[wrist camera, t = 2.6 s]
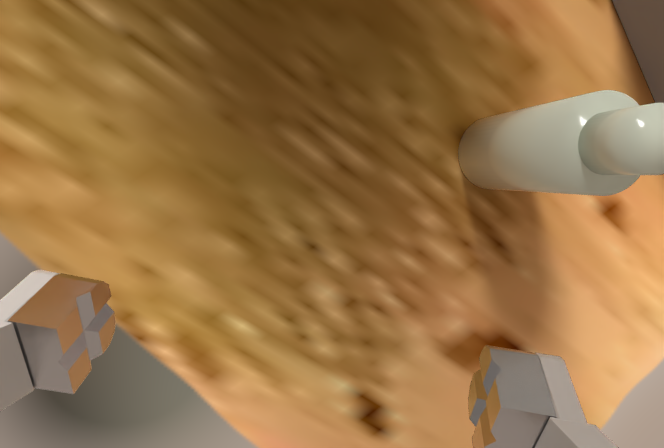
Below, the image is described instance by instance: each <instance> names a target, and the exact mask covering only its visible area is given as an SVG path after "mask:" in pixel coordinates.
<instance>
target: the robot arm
mask: <svg viewBox="0 0 664 448" xmlns="http://www.w3.org/2000/svg"><path fill="white" fill-rule="evenodd" d="M110 297H111V292H110V288H109V284H107V283H105V282H104V281H99V280H94V279H89V278H83V277H78V276H73V275H68V274H63V273H61V274H59V273H55V272H50V271H45V270H37V271H33V272H31V273H30V274H29V275H28V276H27V277H26V278H25V279H23V280H22V281H21V282H20V283H19V284H18V285H17V286H16V287H15V288H13V289H12V290H11V291H10V292H9V293H8V294H7V295H6V296H4V297H3V298H2V299H1V300H0V411H2V410H3V409H5V408H6V407H8V406H9V405H11V404H12V403H14V402H16V401H18V400H19V399H21V398H22V397H24V396H25V395H27V394H29V393H30V392H32V391H33V390H34V388H38V389H45V390H51V391H58V392H64V393H71V394H74V393H75V391H76V390H77V389H78V387H79V386H80V385H81V383H82V382H83V380H84V379H85V378H86V376H87V375H88V374H89V372H90V371H91V362H90V360H92V359H94V358H96V357H98V356H100V355H102V354H103V353H104V352H105V350H106V349H107V347H108V346H109V344H110V342H111V339H112V337H113V334H114V331H115V314H114V311H113V310H112V309H111V308H110V307H109V306H108V305H107V303H106V302H107V301H108V300H109V299H110ZM479 361H480V368H481V369H480V370H479V371H477V372H476V373H474V374H473V378H472V381H471V384H470V390H469V397H468V409H469V419H470V420H471V421H472V423H473V424H474V425H475V426H476V428H475V431H474V434H473V436H472V443H473V448H619V447H618V446H617V445H616V444H614V443H613V442H612V441H611V440H610V439H609V438H608V437H607V436H606V435H605V434H604V433H603V432H602V431H601V430H600V429H599V428H598V427H597V426H596V425H592V424H587V421H586V418H585V416H584V413H583V410H582V408H581V405H580V402H579V399H578V397H577V394H576V391H575V389H574V386H573V383H572V380H571V378H570V375H569V372H568V370H567V367H566V364H565V361H564V360H563V359H562V358H561V357H560V356H553V355H547V354H540V353H532V352H525V351H519V350H513V349H506V348H500V347H494V346H488V345H486V346H485V347H484V348H483V350H482V352H481V355H480V357H479Z"/></svg>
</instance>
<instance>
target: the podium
mask: <svg viewBox="0 0 664 448" xmlns="http://www.w3.org/2000/svg"><path fill="white" fill-rule="evenodd" d="M612 2H613V4H614V6H615V9H616V11H617V13H618V16H619V18H620V20H621V23H622V25H623V27H624V30H625V32H626V35H627V37H628V39H629V42H630V44H631V46H632V49H633V51H634V53H635V56H636V58H637V61H638V63H639V65H640V68H641V70H642V72H643V75H644V77H645V79H646V82H647V84H648V87H649V89H650V91H651V94H652V96H653V98H654V101H655V103H664V0H612Z"/></svg>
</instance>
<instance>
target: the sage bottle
mask: <svg viewBox="0 0 664 448" xmlns="http://www.w3.org/2000/svg"><path fill="white" fill-rule="evenodd" d="M458 159H459V164H460V167H461V170H462V172H463V173H464V175H465V176H466V178H467V179H468V180H469V181H470V182H471V183H473V184H474V185H476V186H478V187H480V188H484V189H495V190H512V191H529V192H546V193H564V194H581V195H598V196H607V195H613V194H616V193H619V192H621V191H623V190H625V189H627V188H628V187H629V186H631V185H632V184H633V183H634V182H635V181H636V180H637V179H638V178H639V177H640V175H661V174H664V103H652V104H646V105H639V104H638V103H637V102H636V101H635V100H634V99H632V98H631V97H629V96H628V95H626V94H624V93H621V92H618V91H613V90H602V91H597V92H593V93H588V94H584V95H580V96H575V97H571V98H567V99H563V100H558V101H554V102H550V103H546V104H541V105H537V106H533V107H528V108H524V109H520V110H516V111H511V112H507V113H503V114H498V115H494V116H490V117H486V118H482V119H480V120H478V121H476V122H474V123H473V124H472V125H471V126H469V127H468V129H467V130H466V131H465V133H464V134H463V136H462V138H461V141H460V144H459V148H458Z"/></svg>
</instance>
